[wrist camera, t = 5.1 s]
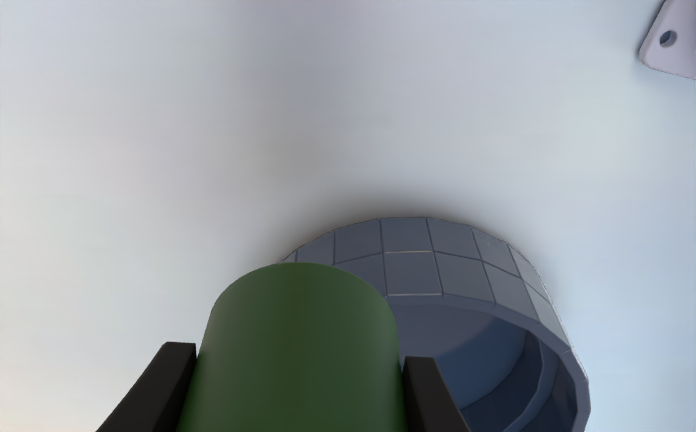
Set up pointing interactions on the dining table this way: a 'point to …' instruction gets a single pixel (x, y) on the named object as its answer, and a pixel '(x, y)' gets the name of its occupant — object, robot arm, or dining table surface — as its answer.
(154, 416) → the robot arm
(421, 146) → the dining table surface
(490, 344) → the shallow round dish
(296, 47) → the dining table surface
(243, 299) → the green pepper
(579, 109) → the dining table surface
